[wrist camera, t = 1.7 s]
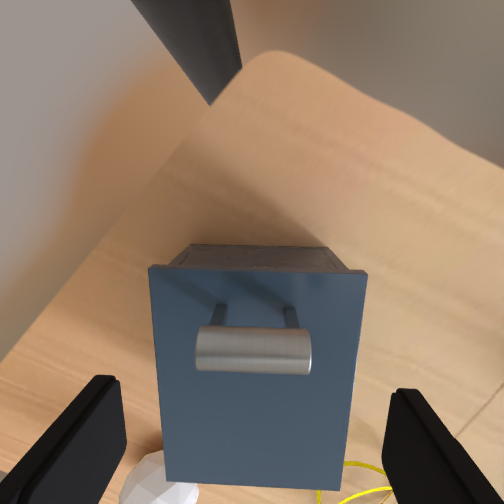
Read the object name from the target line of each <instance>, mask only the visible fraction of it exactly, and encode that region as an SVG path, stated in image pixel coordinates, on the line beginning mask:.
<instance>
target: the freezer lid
mask: <svg viewBox="0 0 504 504" xmlns="http://www.w3.org/2000/svg"><path fill="white" fill-rule="evenodd" d="M148 275H149V286H150V298H151V310H152V322H153V333H154V345H155V357H156V368H157V380H158V392H159V404H160V415H161V427H162V439H163V451H164V462H165V474H166V481H167V482H184V483H202V484H220V485H238V486H256V487H275V488H293V489H311V490H329V491H340V487H341V479H342V472H343V464H344V456H345V448H346V441H347V433H348V425H349V417H350V410H351V402H352V394H353V387H354V379H355V371H356V363H357V356H358V348H359V340H360V333H361V325H362V317H363V309H364V302H365V294H366V286H367V278H368V274H367V273H366V272H365V271H364V270H344V269H307V268H270V267H233V266H196V265H158V264H153V265H152V266H150V267H149V268H148Z"/></svg>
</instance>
